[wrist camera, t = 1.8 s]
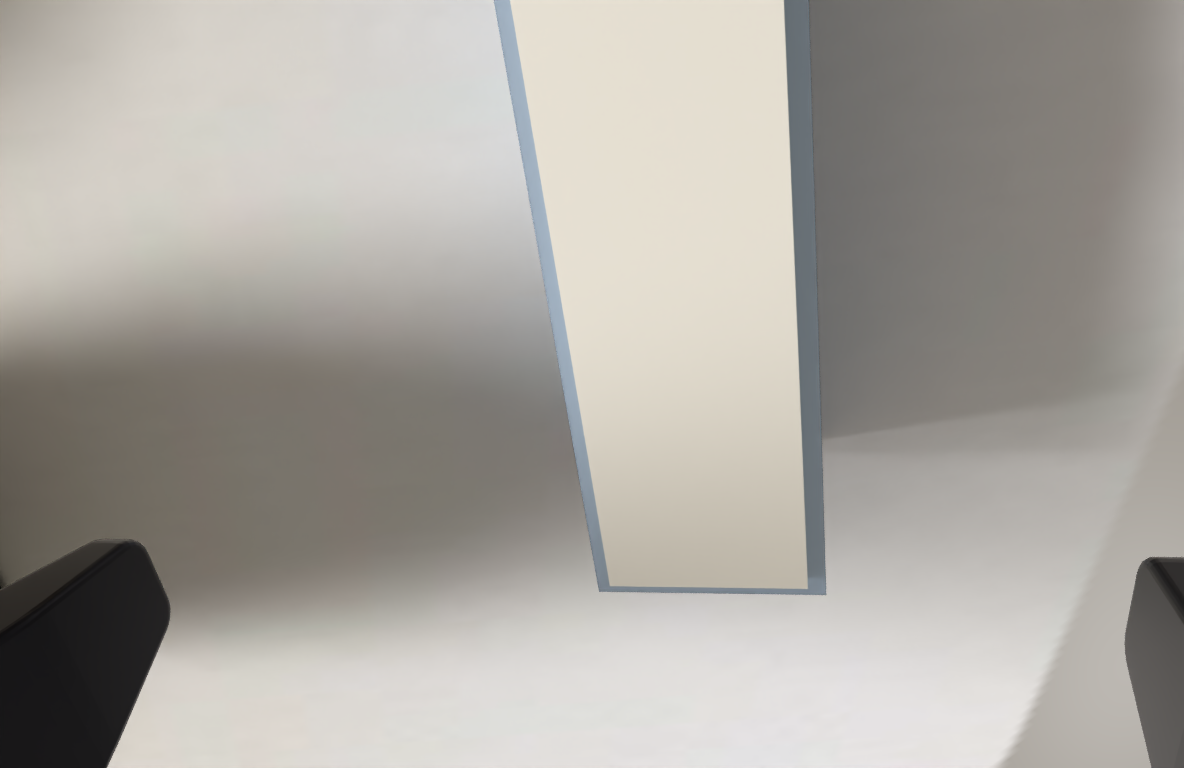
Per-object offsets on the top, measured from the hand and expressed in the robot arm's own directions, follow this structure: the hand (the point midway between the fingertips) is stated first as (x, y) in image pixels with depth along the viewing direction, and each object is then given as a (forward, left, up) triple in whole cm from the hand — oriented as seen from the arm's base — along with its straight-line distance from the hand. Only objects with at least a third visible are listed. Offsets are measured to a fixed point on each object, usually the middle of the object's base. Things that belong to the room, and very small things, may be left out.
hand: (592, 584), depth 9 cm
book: (0, 0, -12) cm, 12 cm away
